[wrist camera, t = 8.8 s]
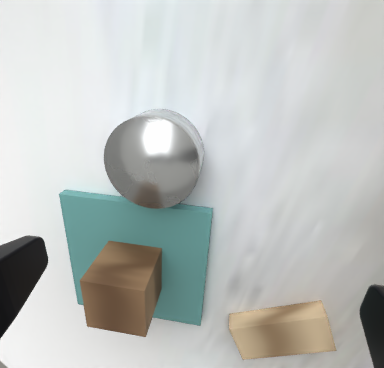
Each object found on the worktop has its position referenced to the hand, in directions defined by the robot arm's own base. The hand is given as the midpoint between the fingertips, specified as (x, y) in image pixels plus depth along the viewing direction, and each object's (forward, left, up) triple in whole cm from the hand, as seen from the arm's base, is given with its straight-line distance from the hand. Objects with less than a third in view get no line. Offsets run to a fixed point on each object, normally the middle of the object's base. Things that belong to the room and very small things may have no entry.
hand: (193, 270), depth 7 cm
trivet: (+6, +11, -12) cm, 17 cm away
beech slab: (-7, +16, -12) cm, 21 cm away
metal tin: (+4, +1, -12) cm, 13 cm away
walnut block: (+6, +11, -11) cm, 17 cm away
